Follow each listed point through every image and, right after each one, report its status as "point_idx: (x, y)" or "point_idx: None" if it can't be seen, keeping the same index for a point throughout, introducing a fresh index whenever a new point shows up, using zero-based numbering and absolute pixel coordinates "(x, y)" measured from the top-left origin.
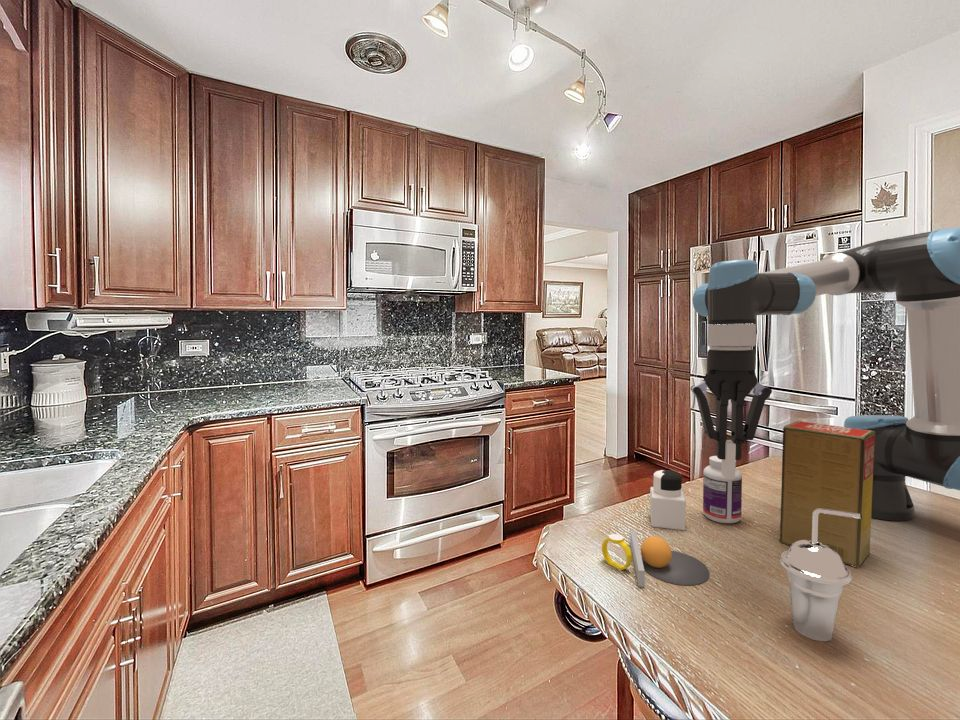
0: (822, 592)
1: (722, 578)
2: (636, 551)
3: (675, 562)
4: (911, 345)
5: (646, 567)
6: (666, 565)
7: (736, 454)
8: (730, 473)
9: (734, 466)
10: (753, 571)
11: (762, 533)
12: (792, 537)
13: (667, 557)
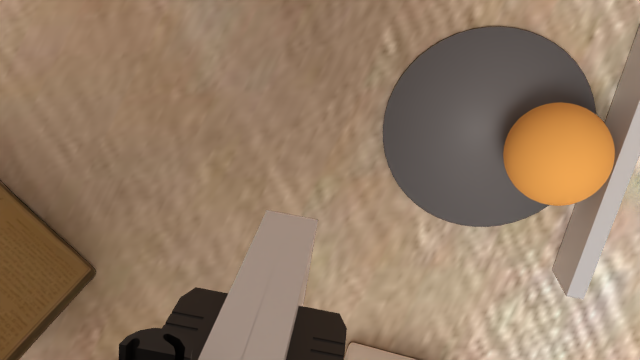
0: None
1: (361, 72)
2: (635, 149)
3: (472, 153)
4: None
5: None
6: None
7: (208, 316)
8: (286, 230)
9: (252, 251)
10: (248, 113)
11: (123, 320)
12: (57, 262)
13: (539, 110)
